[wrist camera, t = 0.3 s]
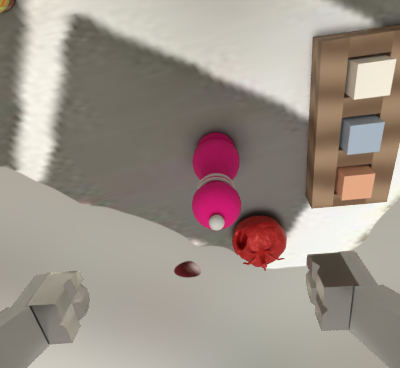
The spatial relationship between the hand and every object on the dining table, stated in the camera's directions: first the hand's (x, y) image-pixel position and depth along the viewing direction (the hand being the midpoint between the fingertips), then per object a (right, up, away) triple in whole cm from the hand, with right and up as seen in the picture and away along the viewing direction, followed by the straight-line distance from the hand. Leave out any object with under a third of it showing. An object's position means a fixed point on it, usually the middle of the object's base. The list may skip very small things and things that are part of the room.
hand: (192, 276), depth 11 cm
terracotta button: (+24, +5, +38) cm, 46 cm away
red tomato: (+11, -5, +49) cm, 50 cm away
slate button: (+23, +11, +34) cm, 43 cm away
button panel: (+23, +13, +36) cm, 45 cm away
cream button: (+22, +18, +30) cm, 41 cm away
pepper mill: (+3, +9, +40) cm, 41 cm away
